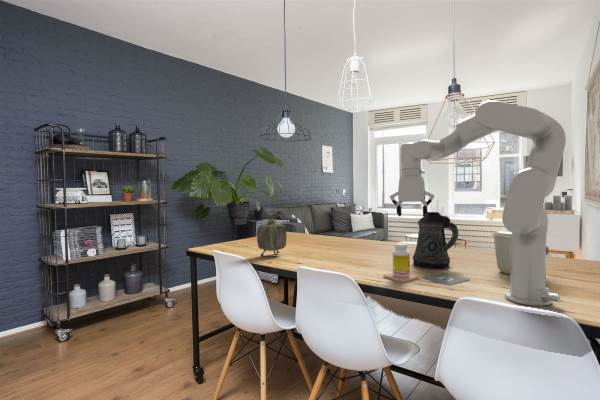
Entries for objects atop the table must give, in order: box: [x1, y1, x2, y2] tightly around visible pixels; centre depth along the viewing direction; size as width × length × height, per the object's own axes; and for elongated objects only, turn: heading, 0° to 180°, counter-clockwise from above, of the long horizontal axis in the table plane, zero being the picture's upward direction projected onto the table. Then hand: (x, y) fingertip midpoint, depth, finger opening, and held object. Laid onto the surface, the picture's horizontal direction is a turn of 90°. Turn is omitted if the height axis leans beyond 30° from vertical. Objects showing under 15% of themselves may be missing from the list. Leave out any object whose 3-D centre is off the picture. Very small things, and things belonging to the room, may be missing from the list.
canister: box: [491, 228, 512, 275], centre depth 147 cm, size 18×18×21 cm
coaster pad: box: [382, 272, 421, 283], centre depth 143 cm, size 10×10×1 cm
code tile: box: [420, 272, 471, 286], centre depth 140 cm, size 13×13×1 cm
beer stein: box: [412, 211, 459, 270], centre depth 164 cm, size 16×19×25 cm
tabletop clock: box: [256, 210, 287, 257], centre depth 193 cm, size 14×9×25 cm, turn 130°
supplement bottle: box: [392, 242, 411, 277], centre depth 142 cm, size 7×7×13 cm
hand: (411, 216), depth 142 cm, fingers open, 9 cm apart
